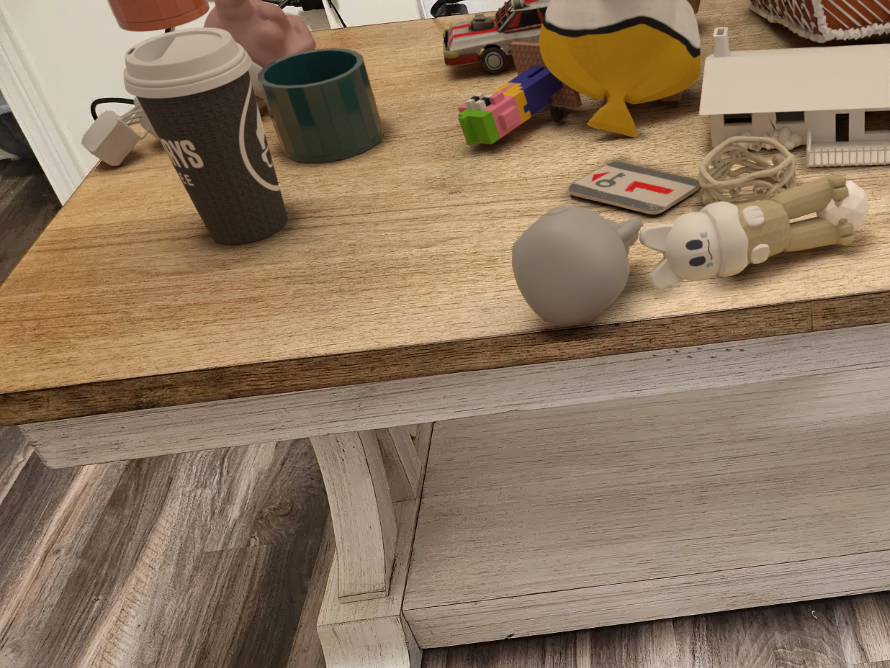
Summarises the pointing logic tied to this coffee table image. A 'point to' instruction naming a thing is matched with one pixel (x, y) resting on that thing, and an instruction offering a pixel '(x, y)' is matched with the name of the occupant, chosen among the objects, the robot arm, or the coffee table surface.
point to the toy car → (494, 34)
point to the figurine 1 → (261, 29)
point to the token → (634, 187)
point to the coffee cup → (210, 128)
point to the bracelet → (745, 171)
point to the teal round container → (321, 104)
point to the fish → (621, 52)
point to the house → (800, 98)
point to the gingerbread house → (827, 17)
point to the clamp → (116, 136)
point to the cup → (156, 13)
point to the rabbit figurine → (754, 230)
